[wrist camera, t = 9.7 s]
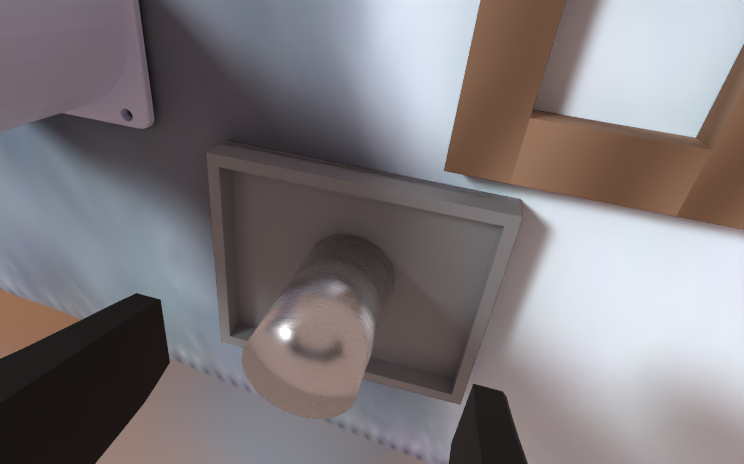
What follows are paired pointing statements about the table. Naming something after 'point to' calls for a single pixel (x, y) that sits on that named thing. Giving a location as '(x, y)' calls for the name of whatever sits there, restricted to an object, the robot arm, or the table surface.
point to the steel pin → (322, 329)
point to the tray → (384, 229)
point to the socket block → (587, 130)
